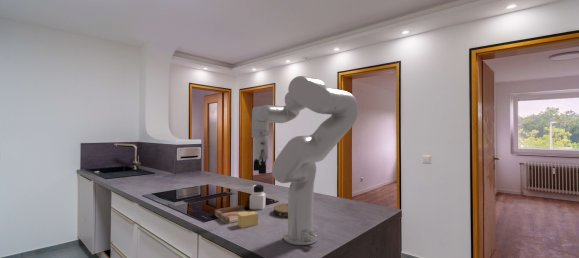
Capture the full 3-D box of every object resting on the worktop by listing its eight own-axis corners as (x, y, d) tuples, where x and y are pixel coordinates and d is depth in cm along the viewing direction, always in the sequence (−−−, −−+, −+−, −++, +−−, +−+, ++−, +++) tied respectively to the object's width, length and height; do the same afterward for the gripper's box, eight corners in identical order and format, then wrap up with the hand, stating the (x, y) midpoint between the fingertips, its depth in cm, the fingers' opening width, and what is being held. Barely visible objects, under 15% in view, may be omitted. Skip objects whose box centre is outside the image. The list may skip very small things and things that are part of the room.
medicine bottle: (265, 206, 149) (265, 183, 149) (262, 209, 142) (263, 186, 142) (252, 205, 150) (252, 183, 150) (249, 209, 142) (249, 186, 143)
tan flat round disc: (311, 215, 134) (311, 209, 134) (282, 220, 126) (283, 213, 126) (294, 207, 147) (294, 201, 147) (268, 211, 139) (268, 205, 140)
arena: (257, 218, 128) (257, 212, 128) (226, 224, 119) (226, 218, 119) (242, 209, 141) (242, 205, 141) (214, 214, 133) (214, 209, 133)
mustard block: (257, 225, 119) (258, 213, 119) (241, 228, 115) (241, 216, 115) (253, 222, 122) (253, 211, 122) (237, 225, 118) (237, 213, 118)
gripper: (273, 134, 116) (273, 175, 116) (263, 133, 132) (262, 169, 132) (256, 134, 113) (255, 175, 113) (248, 133, 130) (247, 169, 130)
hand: (259, 172), depth 123 cm, fingers open, 9 cm apart
